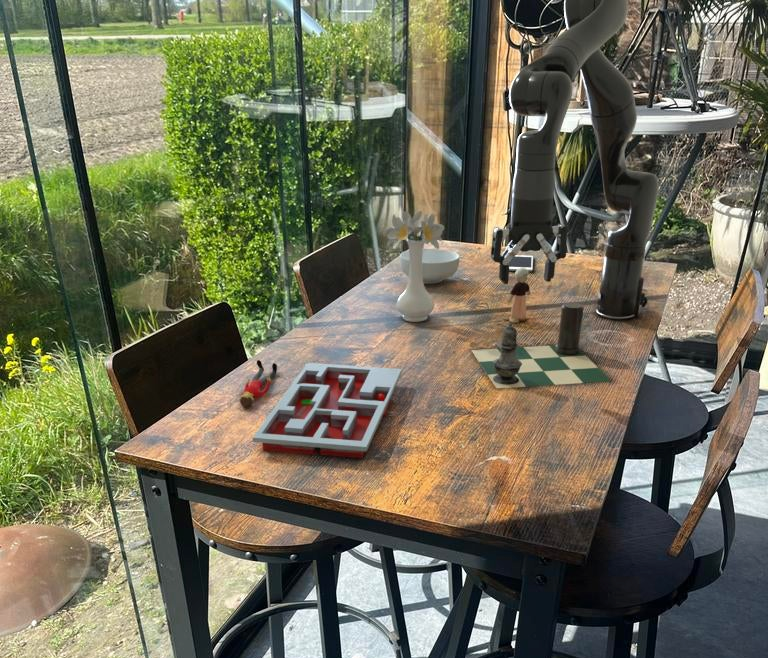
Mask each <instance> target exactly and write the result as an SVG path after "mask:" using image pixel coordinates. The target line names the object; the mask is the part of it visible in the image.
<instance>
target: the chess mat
mask: <svg viewBox="0 0 768 658" xmlns="http://www.w3.org/2000/svg"><path fill="white" fill-rule="evenodd" d="M555 348H556V344H550V345H536V346H518V347H516V354H515V355H516V359H517V360H519V361H521V363H522V366H521V367H520V370H519V372H518V373H517V374H516V375H515V376H517V377H518V378H519V382H517V383H515V384H511V385H504V384H499V383H496V382H495V381H494V380H493V377H494V376H496V375H498V374H497V373H496V371H495V369H494V365H493V361H494V360H496V359H499V357H500V354H501V347H498V348H483V349H471V350H470V351H471V353H472V354H473V356H474V357H475V359H476V360H477V361H478V363H479V365H480V366H481V367H482V369H483V371H484V373H485V374H486V375H487V376H488V378H489V380H490V381H491V383H492V384H493V385H494V387H495V389H496V390H501V389H511V388H526V387H539V386H540V387H543V386H559V385H572V384H573V385H574V384H590V383H605V382H612V380H611V379H610V378H609V377H608V376H607V375H606V374H605V373H604V372H603V371H602V370H601V369H600V368H599V367H598V366H597V365H596V364H595V363H594V362H593V361H592V360H591V359H590V358H589V357H588V356H587V355H586V354H585V353H584V352H583V351H582V350H581V349H580V353H578V354H576V355H563V354H559V353H557V352H556V351H555Z"/></svg>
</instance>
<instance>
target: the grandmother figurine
mask: <svg viewBox="0 0 768 658" xmlns="http://www.w3.org/2000/svg"><path fill="white" fill-rule="evenodd" d="M529 275H530V271H528V270H527V269H525V268H520V269H518V270H516V271H515V272H514V277H515V279H516V281H517V282H516V283H515V284H514V285H513V287H512V289H511V291H510V292H509V295H508V298H507V302H508V303H511V302H512V305H511V310H510V318H509V320H508V322H509V323H511V324H518V323H520V322H523V321H526V318H527V297H526V296H530V295H531V294H532V293H531V290H530V286H529V284H528V283H527V280H528V276H529Z"/></svg>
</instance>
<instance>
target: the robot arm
mask: <svg viewBox="0 0 768 658" xmlns="http://www.w3.org/2000/svg"><path fill="white" fill-rule="evenodd" d="M563 4H564V5H563V11H564V12H563V13H564V20H565V25H566V29H565V30H564V31H563V32H562V33H560V34H559V35H558V36H557V37H555V38H554V39H553V41H552V42H551V43H550V44H549V46H548V47H547V49H546V50H545V52H544V53H543V54H542V56H539V57H537V58H536V59H534V60H533V61H531V62H530V63H528V64H527V65H526V66H524V67H522V68H521V69H520V71H518V73H517V74H516V75H515V77H514V78H513V80H512V82H511V85H510V87H509V94H508V98H509V99H508V101H509V105H510V107H511V108H512V110H513V111H514V113H516V114H517V115H518V116H519V115H520V116H525V117H545V120H544V123H543V125H542V126H541V128H539V129H533V130H527V131H524V132H522V133H521V134H519V136H518V138H517V142H516V157H515V169H514V176H513V181H512V187H511V194H512V196H511V211H510V212H511V213H510V225H509V227H508V228H500V227H499V226H496V227H494V228H493V229H492V239H491V248H490V259H491V260H493V262H494V263H498V264H499V273H498V275H499V276H498V278H499V280H500V281H501V283H502V284H503V285H509V280H510V279H509V278H510V271H509V264H508V263H509V262H510V261H511V259H512V258H513V257H514V256H516V255H518V254H519V252H522V253H526V252H530V251H533V252H538V251H539V250H541V251H542V253H543V254H544V256H545V257H546V260H545V261H544V272H543V280H544V281H545V283H548V282H549V283H550V282H551V281H552V279H554V277H555V271H556V262H557V261H559V260H561V259H565V258H566V257H567V245H568V244H567V243H568V227H567V226H566V225H564V224H563V223H558V224H557V225H553V226H552V220H553V219H552V218H553V209H554V208H553V207H554V206H553V205H554V196H555V185H556V174H555V173H556V168H555V167H556V158H557V148H558V143H559V142H558V141H559V138H560V134H561V130H562V127H563V124H564V120H565V119H566V116H567V113H568V109H569V107H570V103H571V100H572V97H573V83H574V81H575V79H576V78H577V77H578V75H579V73H580V74H581V78H582V82H583V87H584V93H585V96H586V102H587V106H588V111H589V117H590V121H591V125H592V128H593V132H594V136H595V141H596V145H597V150H598V151H597V152H598V156H599V161H600V168H601V178H602V185H603V186H602V187H603V194H604V199H605V203H606V205H607V207H608V208H609V209H610V210H611V211H613V212H617V213H621V214H627V215H628V219H627V223H626V224H625V225H621V226H617V227H614V228H611V229H610V230H608V231H607V235H606V240H605V241H606V242H605V251H604V256H603V262H602V263H603V265H602V272H601V278H600V286H599V290H597V297H598V300H597V305H596V306H597V307H596V311H595V312H596V315H597V316H599V317H601V318H603V319H608V320H613V321H614V320H616V321H619V320H620V321H622V320H623V321H624V320H631V319H633V318H638V317H639V313H640V312H639V311H640V307H641V308H645V307H646V305H647V304H648V297H646V296H645V295H646V293H645V292H643V287H644V281H645V279H644V277H643V276H642V272H643V267H644V261H645V254H646V247H647V242H648V238H649V235H650V233H651V229H652V226H653V221H654V216H655V212H656V207H657V203H658V198H659V191H660V183H659V180H658V179H659V178H658V177H657V175H656V174H654V173H653V172H652V173H651V172H646V171H638V170H633V169H632V170H631V169H629V168H628V166H627V161H626V157H625V156H626V155H625V154H626V153H625V152H626V151H625V150H626V147H627V145H628V142H629V141H630V138H631V137H632V135H633V132H634V130H635V127H636V125H637V119H638V113H637V107H636V100H635V95H634V90H633V87H632V85H631V83H630V81H629V80H628V79H627V78H626V76H625V74H623V73H622V72H621V71H620V70H619V69H618V68H617V67H616V65H614V64H613V63H612V62H611V60H609V59H608V58H607V57H606V55H605V53H603V51H602V50H601V47H602V46H603V45H604V44H606V42H608V41H609V40H610V39H611V38H612V37H613V36H614V35H615V34H617V32H619V31H620V29H622V27H623V25H624V24H625V22H626V19H627V16H628V11H629V0H564V2H563ZM552 235H553V236H554V237H555V238H556V241H555V243H556V244H555V245H556V247H555V250H554V251H553V249H552V247H551V245H549V243H548V240H549V239H550V238H551V236H552ZM507 236H508V237H509V238H510V242H509V243H508V244H507V246H506V247H505V250H504V251H503V252H502V245H503V242H504V241H505V240H506V238H507Z"/></svg>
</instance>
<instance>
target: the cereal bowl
mask: <svg viewBox="0 0 768 658" xmlns="http://www.w3.org/2000/svg"><path fill="white" fill-rule="evenodd" d="M399 265H400V270H401V271H402V272H403V273H404V275H406V276H407V277H409V269H410V253H409V249H408V250H405V251H403V252H401V253H400V255H399ZM459 266H460V254H458V253H457V252H455V251H453V250H448V249H441V248H438V249H437V248H423V254H422V277H423V284H424V285H432V284H439V283H441V282H443V281H444V280H446V279H449V278H451V277H453V276H454V275H455V274H456V273H457V271H458V269H459Z"/></svg>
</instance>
